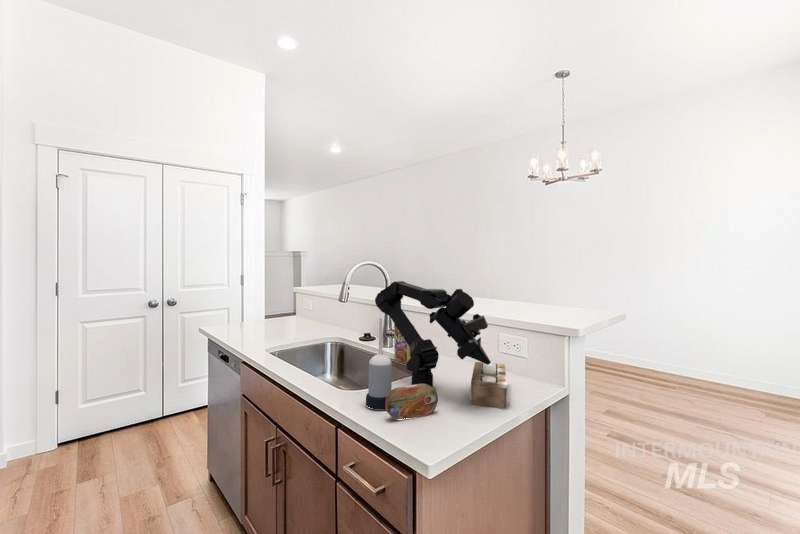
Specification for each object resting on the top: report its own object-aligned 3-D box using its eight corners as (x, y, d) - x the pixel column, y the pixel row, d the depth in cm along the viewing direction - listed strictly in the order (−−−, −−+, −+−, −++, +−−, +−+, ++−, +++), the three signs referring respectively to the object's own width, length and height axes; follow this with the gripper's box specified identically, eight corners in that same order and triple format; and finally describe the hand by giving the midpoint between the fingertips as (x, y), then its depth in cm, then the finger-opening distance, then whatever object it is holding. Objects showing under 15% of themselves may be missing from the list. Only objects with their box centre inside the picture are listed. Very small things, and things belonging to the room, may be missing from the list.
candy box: (393, 359, 156) (393, 322, 155) (401, 357, 159) (402, 321, 158) (406, 364, 149) (406, 326, 148) (414, 362, 151) (415, 325, 151)
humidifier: (385, 398, 115) (386, 316, 115) (398, 406, 108) (399, 319, 108) (361, 402, 111) (362, 317, 111) (373, 412, 104) (374, 321, 104)
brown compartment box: (470, 405, 110) (471, 380, 110) (474, 382, 129) (475, 361, 129) (506, 408, 108) (506, 384, 107) (504, 384, 127) (505, 363, 127)
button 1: (481, 394, 111) (481, 379, 110) (482, 389, 115) (482, 375, 114) (495, 396, 110) (495, 380, 110) (495, 391, 114) (495, 376, 113)
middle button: (482, 380, 117) (482, 365, 117) (483, 375, 121) (483, 362, 121) (495, 381, 116) (496, 366, 116) (495, 377, 120) (496, 363, 120)
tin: (388, 423, 98) (388, 391, 98) (383, 418, 101) (383, 387, 101) (438, 413, 104) (438, 383, 104) (433, 409, 107) (433, 380, 107)
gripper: (469, 311, 103) (511, 353, 101) (473, 302, 121) (508, 338, 119) (440, 338, 106) (480, 380, 103) (449, 325, 124) (483, 361, 121)
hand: (489, 363), depth 112 cm, fingers closed
